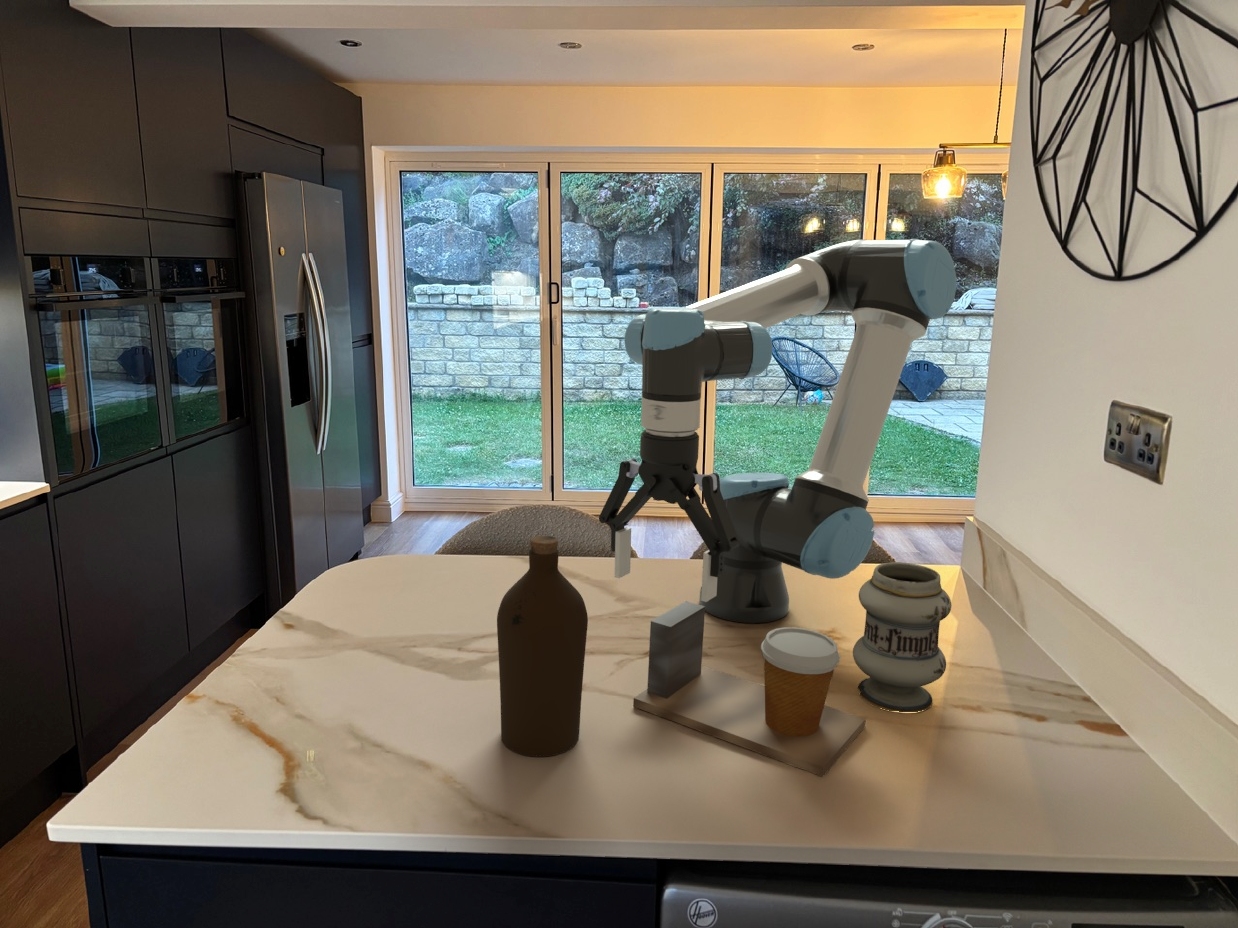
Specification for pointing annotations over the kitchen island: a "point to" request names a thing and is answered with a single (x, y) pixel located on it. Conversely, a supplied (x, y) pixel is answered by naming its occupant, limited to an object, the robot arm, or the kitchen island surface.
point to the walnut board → (729, 698)
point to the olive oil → (541, 656)
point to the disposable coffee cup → (797, 678)
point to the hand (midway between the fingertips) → (664, 586)
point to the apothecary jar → (901, 636)
